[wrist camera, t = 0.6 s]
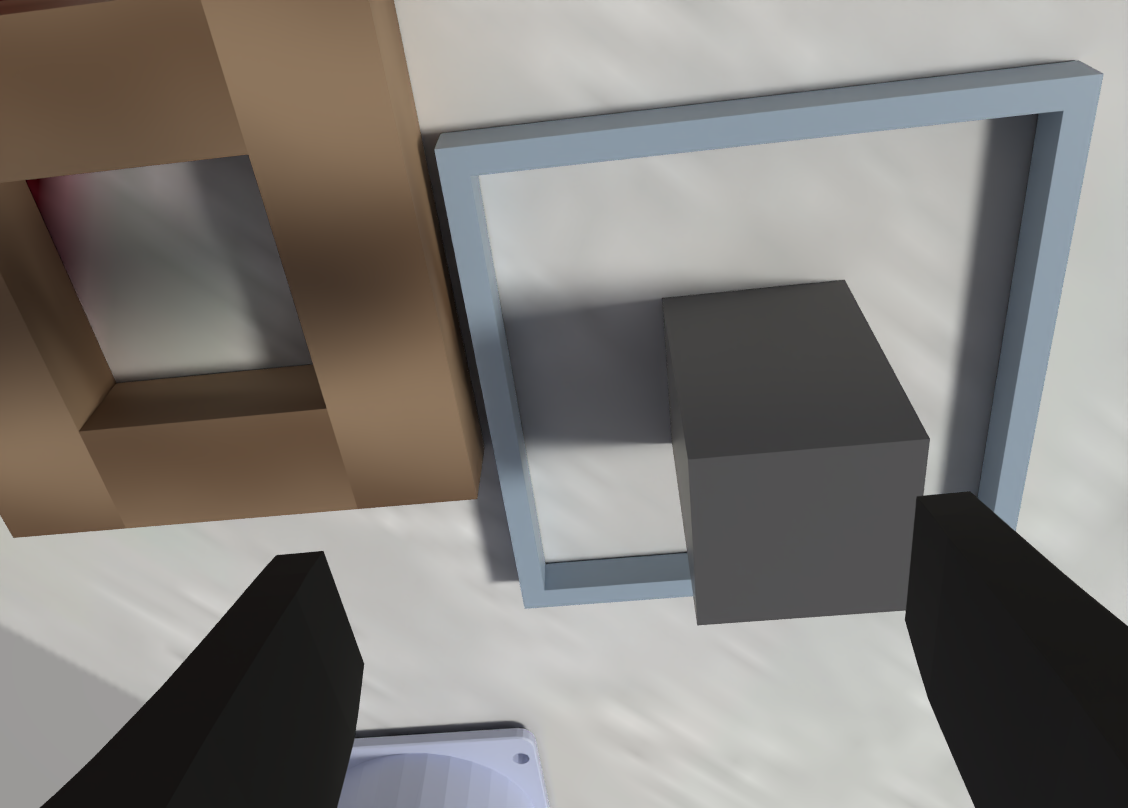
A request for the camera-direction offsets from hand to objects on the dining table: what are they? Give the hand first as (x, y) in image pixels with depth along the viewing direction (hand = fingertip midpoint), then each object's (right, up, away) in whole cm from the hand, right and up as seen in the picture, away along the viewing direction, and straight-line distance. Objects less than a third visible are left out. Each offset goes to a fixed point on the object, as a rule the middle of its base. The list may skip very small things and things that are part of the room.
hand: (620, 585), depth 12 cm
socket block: (-9, +5, +9) cm, 14 cm away
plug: (+4, +3, +10) cm, 11 cm away
